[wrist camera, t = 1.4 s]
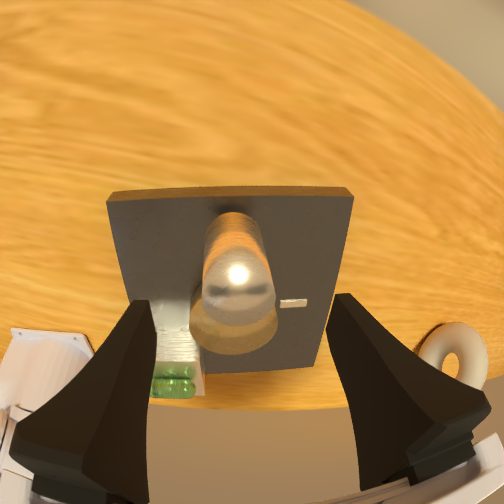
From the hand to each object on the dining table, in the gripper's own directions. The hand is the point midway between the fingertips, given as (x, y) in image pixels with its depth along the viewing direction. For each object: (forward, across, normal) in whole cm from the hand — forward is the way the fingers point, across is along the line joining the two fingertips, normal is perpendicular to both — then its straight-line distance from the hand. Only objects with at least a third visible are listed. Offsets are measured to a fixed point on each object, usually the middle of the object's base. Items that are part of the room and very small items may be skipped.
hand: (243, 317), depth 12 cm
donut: (+10, -22, +15) cm, 29 cm away
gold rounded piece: (+8, 0, +4) cm, 9 cm away
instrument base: (+10, 0, +7) cm, 12 cm away
